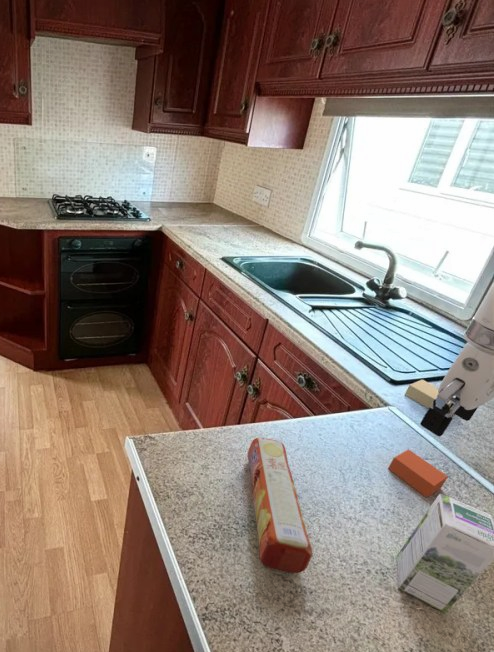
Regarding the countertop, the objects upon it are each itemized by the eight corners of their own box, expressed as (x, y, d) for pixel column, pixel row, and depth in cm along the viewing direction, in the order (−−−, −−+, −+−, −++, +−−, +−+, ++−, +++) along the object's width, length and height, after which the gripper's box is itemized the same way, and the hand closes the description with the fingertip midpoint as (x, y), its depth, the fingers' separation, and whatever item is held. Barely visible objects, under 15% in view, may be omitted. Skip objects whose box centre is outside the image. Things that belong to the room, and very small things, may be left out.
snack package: (243, 456, 76) (252, 429, 73) (279, 464, 75) (290, 437, 72) (255, 569, 57) (267, 539, 54) (304, 582, 56) (319, 551, 53)
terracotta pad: (440, 488, 74) (448, 476, 72) (426, 497, 71) (434, 486, 70) (402, 460, 79) (408, 449, 78) (387, 468, 77) (394, 457, 75)
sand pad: (452, 408, 96) (458, 398, 94) (439, 415, 93) (445, 405, 92) (417, 388, 102) (422, 379, 101) (404, 394, 99) (409, 384, 98)
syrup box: (440, 577, 58) (492, 511, 52) (446, 616, 54) (503, 549, 47) (395, 555, 61) (439, 489, 54) (397, 590, 56) (445, 523, 50)
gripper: (503, 361, 55) (443, 453, 62) (549, 340, 63) (492, 423, 71) (443, 334, 61) (395, 421, 68) (492, 318, 69) (445, 397, 76)
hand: (444, 422), depth 69 cm, fingers open, 9 cm apart
